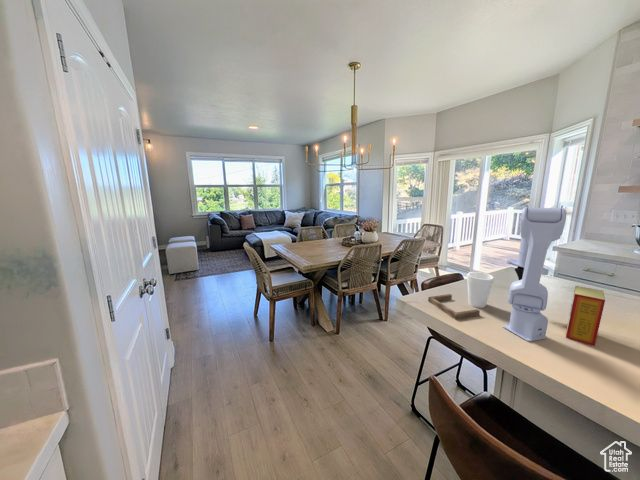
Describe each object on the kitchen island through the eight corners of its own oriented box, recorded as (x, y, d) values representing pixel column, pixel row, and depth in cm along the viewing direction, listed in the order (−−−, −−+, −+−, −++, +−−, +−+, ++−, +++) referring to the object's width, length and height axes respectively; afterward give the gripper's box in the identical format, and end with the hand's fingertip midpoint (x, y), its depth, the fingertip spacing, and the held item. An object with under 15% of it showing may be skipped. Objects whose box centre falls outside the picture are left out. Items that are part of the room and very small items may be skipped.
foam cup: (482, 299, 112) (486, 272, 110) (494, 309, 103) (498, 279, 101) (460, 299, 113) (463, 271, 111) (470, 308, 104) (473, 279, 102)
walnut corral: (479, 315, 99) (479, 310, 99) (455, 319, 97) (455, 314, 96) (449, 298, 114) (450, 294, 114) (428, 301, 112) (428, 296, 112)
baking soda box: (567, 326, 90) (575, 284, 87) (593, 333, 86) (603, 289, 82) (565, 337, 84) (574, 293, 80) (594, 346, 79) (605, 299, 76)
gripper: (557, 257, 91) (551, 292, 94) (518, 248, 105) (513, 278, 108) (542, 259, 90) (536, 294, 93) (504, 249, 104) (500, 280, 106)
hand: (523, 286), depth 100 cm, fingers closed
